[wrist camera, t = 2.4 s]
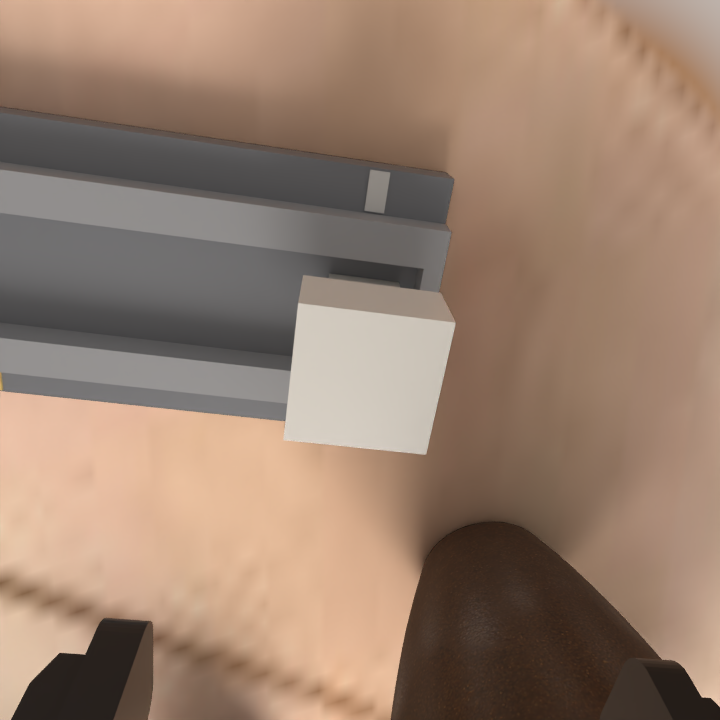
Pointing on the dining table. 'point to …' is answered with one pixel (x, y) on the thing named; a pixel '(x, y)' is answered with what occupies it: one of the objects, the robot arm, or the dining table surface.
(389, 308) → the fader knob
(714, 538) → the dining table surface
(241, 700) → the dining table surface
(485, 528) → the plant pot
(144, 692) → the robot arm
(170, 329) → the fader console
